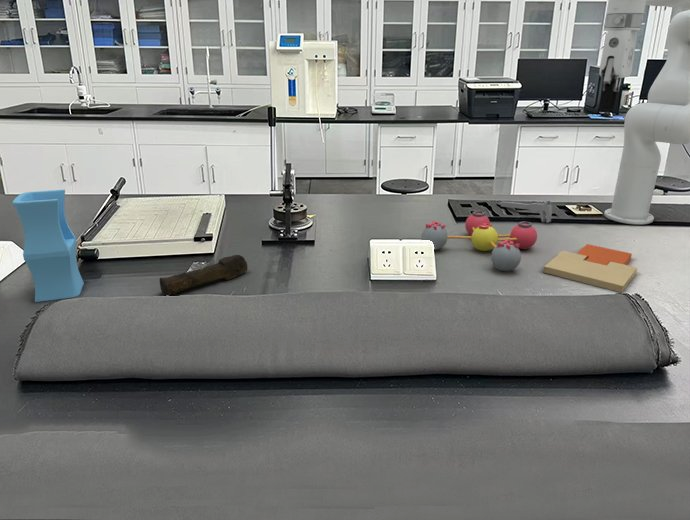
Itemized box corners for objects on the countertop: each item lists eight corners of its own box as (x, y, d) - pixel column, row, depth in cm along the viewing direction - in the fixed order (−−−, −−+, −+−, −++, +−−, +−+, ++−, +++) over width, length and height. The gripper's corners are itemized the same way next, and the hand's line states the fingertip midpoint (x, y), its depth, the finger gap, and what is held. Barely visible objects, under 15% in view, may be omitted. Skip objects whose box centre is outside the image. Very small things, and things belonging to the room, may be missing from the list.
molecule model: (415, 249, 129) (416, 224, 127) (461, 228, 144) (463, 205, 141) (510, 278, 114) (514, 250, 111) (552, 251, 128) (556, 226, 125)
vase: (78, 296, 106) (57, 200, 98) (34, 302, 104) (9, 203, 96) (84, 280, 113) (65, 189, 105) (43, 285, 111) (20, 192, 103)
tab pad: (585, 249, 129) (586, 243, 128) (630, 259, 123) (632, 253, 123) (571, 263, 121) (572, 257, 120) (618, 274, 115) (620, 268, 115)
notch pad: (561, 256, 125) (562, 250, 124) (636, 273, 116) (637, 267, 115) (543, 272, 116) (544, 266, 116) (621, 292, 107) (623, 285, 106)
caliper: (550, 223, 147) (553, 201, 145) (547, 224, 147) (551, 202, 144) (499, 204, 164) (502, 184, 161) (497, 205, 163) (499, 185, 161)
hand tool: (166, 300, 104) (163, 279, 102) (159, 293, 107) (156, 272, 105) (253, 276, 115) (251, 257, 113) (244, 270, 118) (243, 251, 116)
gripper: (633, 22, 110) (616, 113, 117) (649, 24, 121) (632, 107, 128) (595, 23, 115) (580, 110, 122) (613, 24, 125) (599, 105, 132)
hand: (607, 108), depth 125 cm, fingers closed
